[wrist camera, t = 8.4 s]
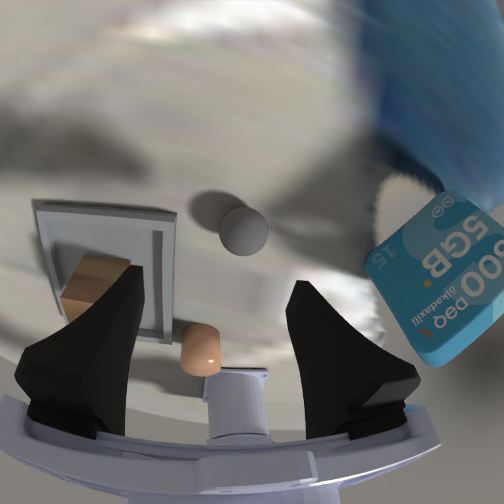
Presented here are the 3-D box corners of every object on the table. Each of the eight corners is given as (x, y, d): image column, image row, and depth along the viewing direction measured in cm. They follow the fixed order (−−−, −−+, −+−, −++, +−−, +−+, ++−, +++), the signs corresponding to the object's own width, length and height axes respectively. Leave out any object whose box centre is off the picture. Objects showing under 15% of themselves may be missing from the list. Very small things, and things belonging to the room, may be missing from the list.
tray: (173, 333, 28) (172, 344, 27) (71, 318, 26) (67, 328, 24) (176, 213, 20) (174, 222, 19) (44, 202, 18) (35, 210, 17)
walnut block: (134, 299, 24) (122, 345, 20) (91, 293, 23) (73, 336, 19) (131, 260, 22) (113, 306, 17) (84, 254, 21) (59, 297, 16)
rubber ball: (259, 242, 23) (265, 268, 20) (216, 237, 22) (216, 263, 19) (268, 202, 21) (277, 224, 18) (222, 196, 20) (223, 218, 17)
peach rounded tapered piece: (217, 347, 30) (219, 377, 27) (182, 345, 29) (180, 374, 26) (221, 324, 28) (223, 356, 25) (182, 321, 27) (180, 353, 24)
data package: (446, 184, 21) (534, 253, 11) (456, 214, 23) (530, 284, 14) (358, 260, 25) (419, 361, 15) (376, 283, 27) (430, 375, 17)
